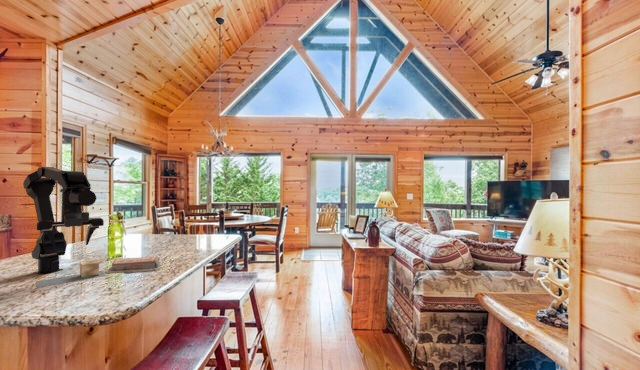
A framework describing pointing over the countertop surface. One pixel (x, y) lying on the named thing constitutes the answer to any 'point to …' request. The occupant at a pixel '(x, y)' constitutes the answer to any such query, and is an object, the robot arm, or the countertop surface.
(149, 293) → the countertop surface
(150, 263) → the reddish brown brick
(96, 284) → the countertop surface
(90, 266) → the block
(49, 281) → the mat
